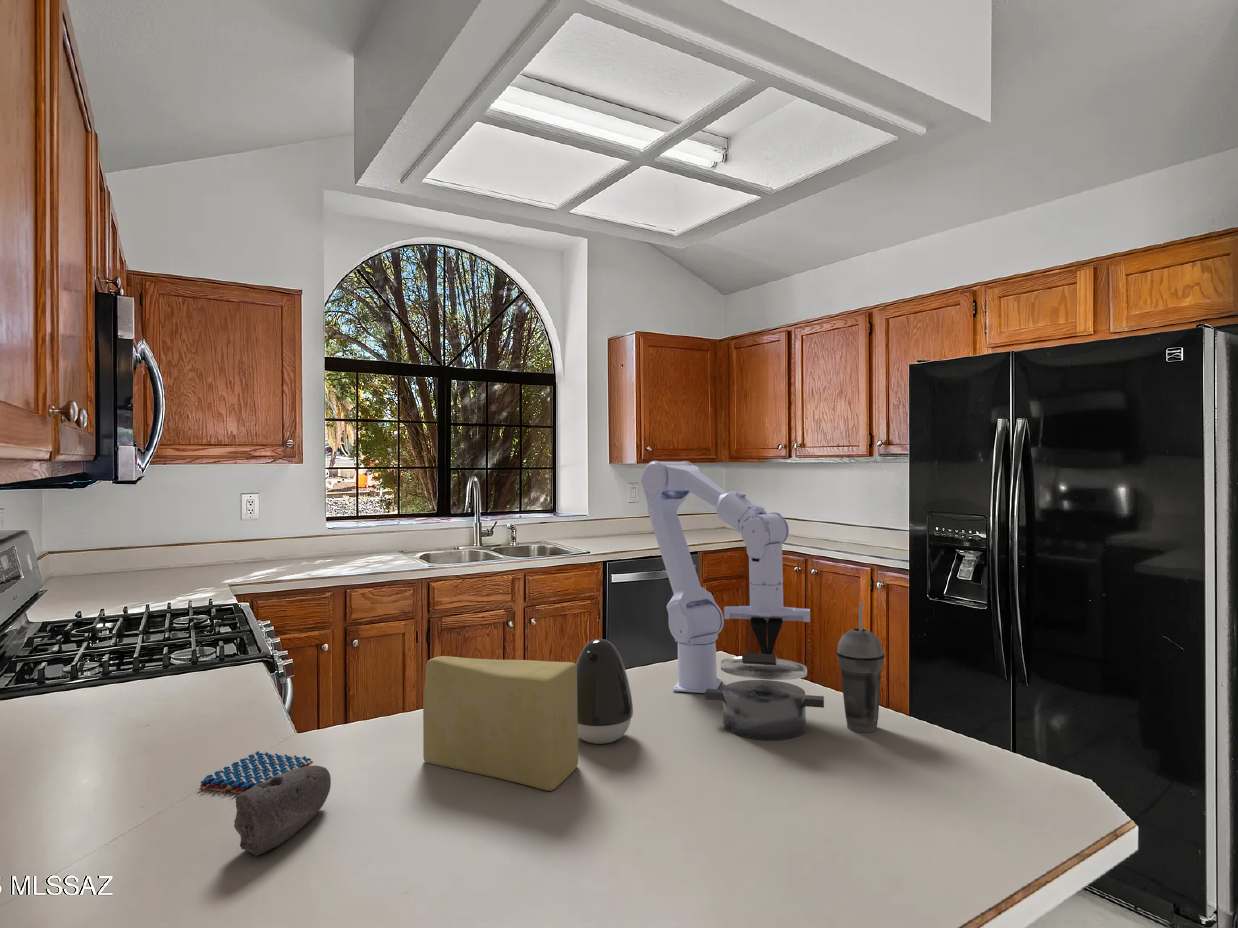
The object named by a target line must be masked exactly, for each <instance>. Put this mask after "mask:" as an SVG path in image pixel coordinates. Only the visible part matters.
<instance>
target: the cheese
mask: <svg viewBox="0 0 1238 928" xmlns="http://www.w3.org/2000/svg"><path fill="white" fill-rule="evenodd" d="M423 689H424V690H423V705H422V712H423V714H422V716H423V717H422V718H423V719H422V723H423V724H422V725H423V726H422V727H423V729H422V730H423V731H422V732H423V734H422V735H423V737H422V738H423V741H422V742H423V744H422V745H423V747H422V749H423V751H422V754H423V760H424V762H425V763H426V762H427V763H426V764H429V763H431V764H430V765H433V764H435V765H434V766H438V765H441V766H440V767H443V766H445V767H444V768H447V767H449V769H452V768H453V770H457V769H459V770H458V771H464V772H467V773H471V774H472V773H473V774H475V775H476V774H477V775H480V776H481V775H482V776H487V777H492V778H496V779H498V780H504V781H508V782H513V783H516V784H521V785H524V786H528V787H531V788H535V789H540V790H543V791H548V792H549V791H550V792H551V791H554V790H556V788H558V787H559V786H560V785H561V784H562V783H563V782H564V781H565V780H566V779H567V778H568V777H569V776H570V775H571V774H572V773H573V772H574V771H575V770H576V769H577V767H578V766H579V764H578V763H579V737H578V712H577V666H576V663H575V662H571V661H549V660H548V661H546V660H529V659H489V658H471V657H469V658H468V657H459V656H448V655H447V656H446V655H441V656H436V657H433V658H432V657H431V659H429V660H427V662H426V665H425V677H424V688H423Z"/></svg>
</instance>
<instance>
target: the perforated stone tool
mask: <svg viewBox="0 0 1238 928" xmlns="http://www.w3.org/2000/svg"><path fill="white" fill-rule="evenodd" d="M331 786H332V784H331V774H330V772H329V770H328V769H327V767H324V766H320V765H309V766H305V767H300V768H297V769H294V770H291V771H288V772H285V773H283V774H280V775H278V776H274V777H272V778H270V779H268V780H267V781H265V782H262V783H259V784H257V785H255V786H254V787H252V788H250V789H249V790H247V791H245V792H244V793H242V794H241V793H239V794H238V795H237V796H236V797H235V808H236V815H235V819H234V823H233V824H234V825H233V827H234V829H235V831H236V832H237V833H238V835H239V837H240V843H239V847H240V849H241V850H245V852H247V853H248V854H249V853H251V854H252V855H254V856H260V855H262V854H264V853H266V852H268V851H271V850H272V849H275V848H277V847H279V846H280V845H282V844H284V843H285V841H287V840H289V839H290V838H292V837H293V836H294V835H295V834H296V833H297V832H299V831H300V830H301V829H302V828H304V827H305V826H306V825H307V824H308V823H310V821H311V820H312V819H314V817H315V816H316V815H317V814H318V813H319V812H320V811H321V809H322V807H323V806H324V804H325V802H326V801H327V799H328V796H329V794H330V791H331Z"/></svg>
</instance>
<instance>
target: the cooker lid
mask: <svg viewBox="0 0 1238 928" xmlns="http://www.w3.org/2000/svg"><path fill="white" fill-rule="evenodd" d="M720 670H721V671H722V672H724V673H726V674H729V675H732V676H737V677H741V678H748V679H750V678H751V679H754V680H772V681H788V680H789V681H791V680H798V679H803V678H806V677H807V675H808V668H807V666H806V665H805V664H802V663H800V662H797V661H794V660H793V661H792V660H788V659H783V658H777V654H762V653H749V652H742V654H741V656H737V657H736V656H734V657H728V658H724V659H722V660H721V661H720Z"/></svg>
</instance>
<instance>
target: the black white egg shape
mask: <svg viewBox="0 0 1238 928" xmlns="http://www.w3.org/2000/svg"><path fill="white" fill-rule="evenodd" d="M577 658H578V659H577V660H576V663H575V664H576V666H577V712H578V739H579V738H580V739H581V740H582V741H585V742H587V743H589V744H595V745H602V744H603V745H604V744H610V743H613V742H615V741H618V740H619V739H621V738H622V737H623V736H624V735H625V734H626V733H627V732H628V729H629V726H630V724H631V720H632V718H633V716H634V704H633V697H632V691H631V686H630V682H629V679H628V675H627V672H626V668H625V664H624V663H623V659H622V657H621V655H620V653H619V651H618V650H617V648H616V646H615V645H614V644H613V643H612V642H610V641H608V640H607V639H603V638H596V639H593V640H590V641H588V642H587V643H586V645H584V647H583V648H582V650H581V651H580V654H579V655H578V657H577Z"/></svg>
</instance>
